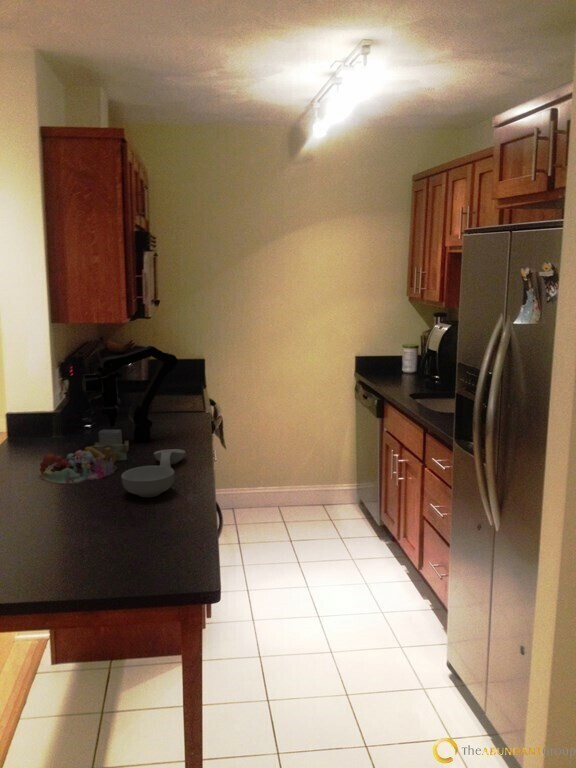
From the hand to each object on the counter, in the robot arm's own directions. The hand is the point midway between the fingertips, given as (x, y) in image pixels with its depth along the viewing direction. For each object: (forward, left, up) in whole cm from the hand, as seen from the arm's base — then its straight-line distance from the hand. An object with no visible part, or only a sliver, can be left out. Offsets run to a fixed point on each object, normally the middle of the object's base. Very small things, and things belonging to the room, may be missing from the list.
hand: (112, 426), depth 281 cm
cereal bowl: (-15, +61, -8) cm, 63 cm away
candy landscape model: (+9, +35, -8) cm, 37 cm away
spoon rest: (-22, +33, -8) cm, 41 cm away
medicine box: (0, +10, -8) cm, 13 cm away
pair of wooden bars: (0, +13, -8) cm, 15 cm away
